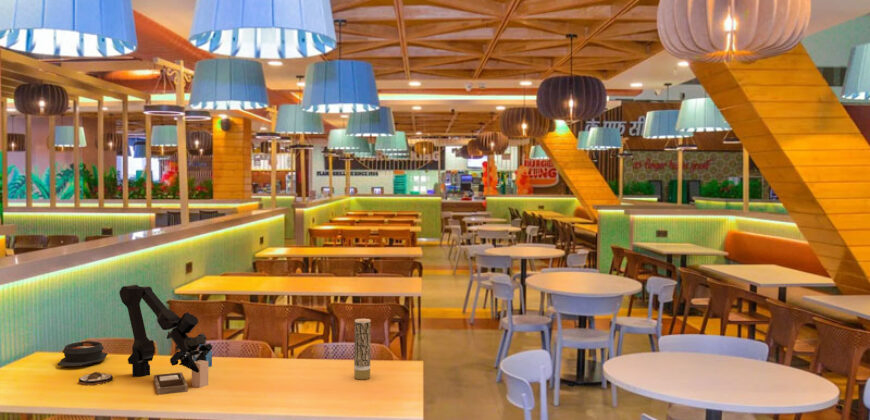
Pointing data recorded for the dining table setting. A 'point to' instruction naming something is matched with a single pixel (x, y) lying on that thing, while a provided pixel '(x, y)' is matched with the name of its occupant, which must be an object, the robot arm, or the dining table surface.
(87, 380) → the sushi roll
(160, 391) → the rack
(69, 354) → the casserole
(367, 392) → the dining table surface
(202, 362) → the clay blank
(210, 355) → the perfume bottle
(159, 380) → the napkin stack
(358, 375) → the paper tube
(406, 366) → the dining table surface
